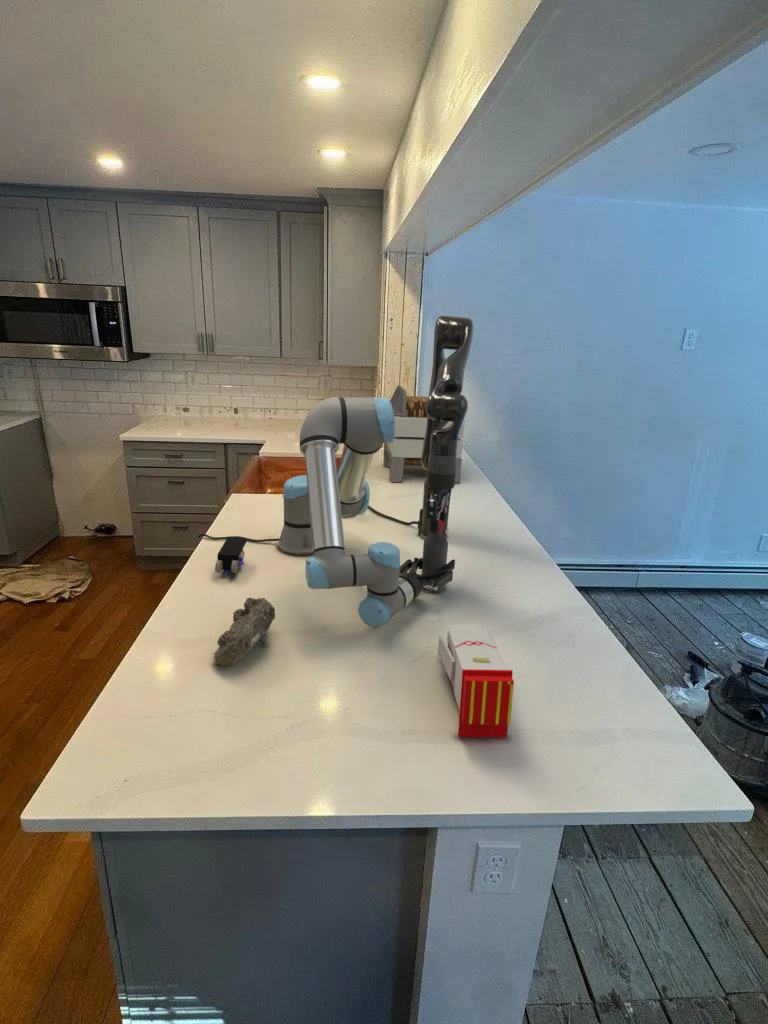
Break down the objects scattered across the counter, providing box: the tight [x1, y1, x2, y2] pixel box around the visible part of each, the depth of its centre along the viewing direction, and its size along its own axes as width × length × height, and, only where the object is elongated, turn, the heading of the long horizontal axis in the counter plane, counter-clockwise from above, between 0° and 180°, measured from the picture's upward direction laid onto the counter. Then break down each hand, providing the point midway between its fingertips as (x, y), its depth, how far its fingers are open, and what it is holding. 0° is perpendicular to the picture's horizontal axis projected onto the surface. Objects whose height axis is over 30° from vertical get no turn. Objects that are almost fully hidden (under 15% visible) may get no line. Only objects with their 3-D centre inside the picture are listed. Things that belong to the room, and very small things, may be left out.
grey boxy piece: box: [383, 384, 465, 484], centre depth 268 cm, size 34×33×41 cm
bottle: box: [420, 531, 449, 594], centre depth 159 cm, size 7×7×19 cm
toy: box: [437, 628, 515, 738], centre depth 117 cm, size 12×13×30 cm
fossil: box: [214, 597, 276, 667], centre depth 130 cm, size 22×10×15 cm
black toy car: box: [214, 538, 248, 578], centre depth 166 cm, size 7×8×15 cm
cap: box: [438, 520, 445, 531], centre depth 156 cm, size 4×4×2 cm
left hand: (441, 560), depth 164 cm, fingers closed on bottle, 7 cm apart
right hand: (437, 528), depth 156 cm, fingers open, 5 cm apart
